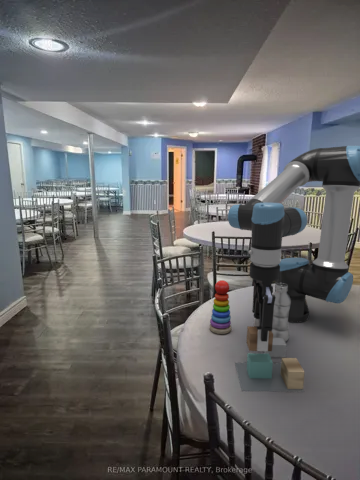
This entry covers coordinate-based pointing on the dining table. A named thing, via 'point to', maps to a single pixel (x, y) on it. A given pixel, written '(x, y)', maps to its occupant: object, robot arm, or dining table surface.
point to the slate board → (263, 380)
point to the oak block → (292, 373)
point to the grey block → (277, 348)
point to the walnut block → (252, 338)
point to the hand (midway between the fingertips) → (260, 345)
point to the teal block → (259, 365)
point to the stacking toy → (221, 309)
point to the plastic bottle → (281, 312)
